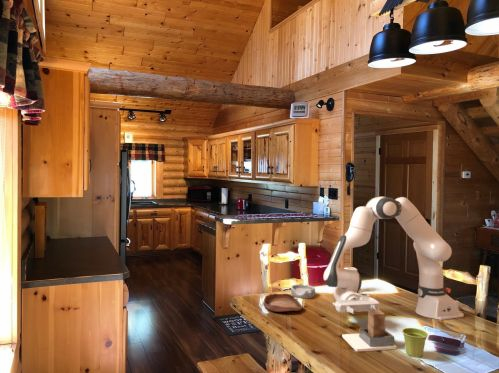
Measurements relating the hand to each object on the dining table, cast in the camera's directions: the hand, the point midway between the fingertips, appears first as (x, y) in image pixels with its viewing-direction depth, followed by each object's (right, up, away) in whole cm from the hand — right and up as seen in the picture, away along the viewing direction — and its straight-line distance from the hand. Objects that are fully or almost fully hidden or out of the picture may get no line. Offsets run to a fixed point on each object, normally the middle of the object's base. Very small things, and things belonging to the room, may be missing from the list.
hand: (364, 311), depth 180 cm
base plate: (-1, -10, -11) cm, 15 cm away
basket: (-33, -9, +33) cm, 48 cm away
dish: (-20, -8, +56) cm, 60 cm away
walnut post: (+2, -9, -11) cm, 14 cm away
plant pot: (+14, -10, -21) cm, 27 cm away
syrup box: (+9, -8, +63) cm, 64 cm away
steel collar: (+2, -10, -11) cm, 15 cm away
